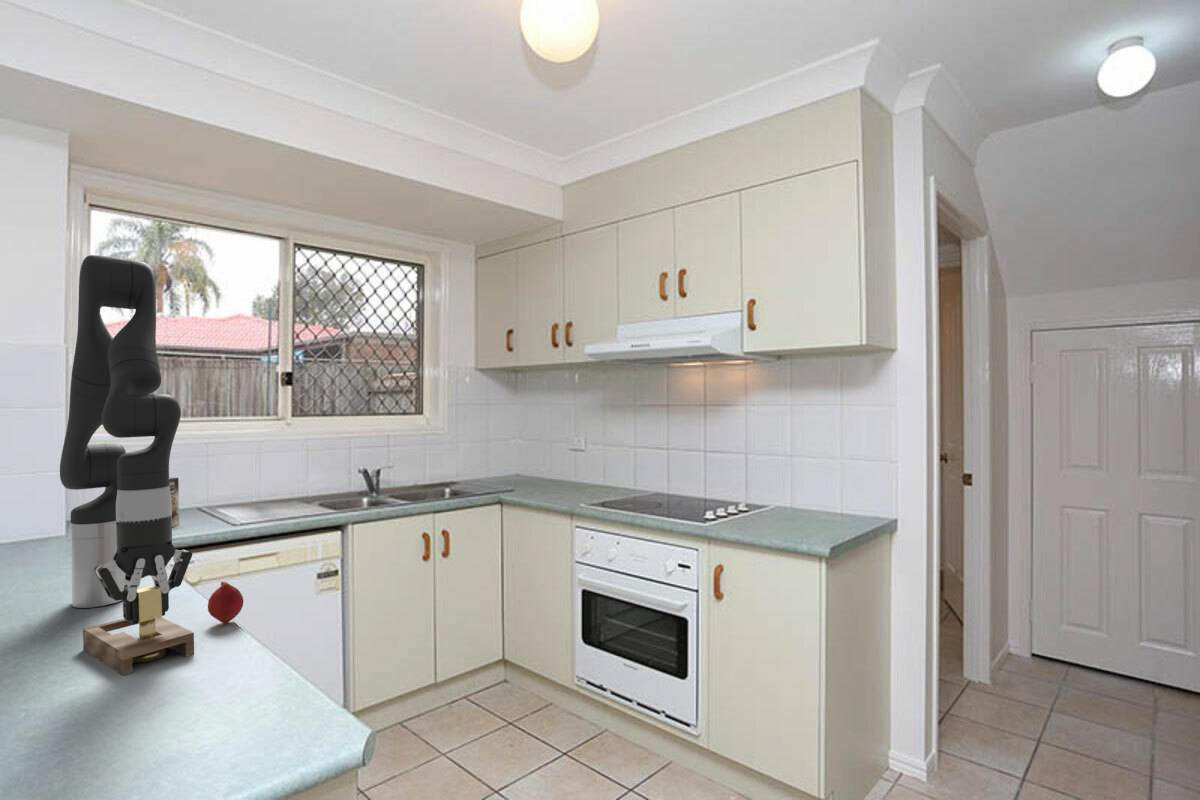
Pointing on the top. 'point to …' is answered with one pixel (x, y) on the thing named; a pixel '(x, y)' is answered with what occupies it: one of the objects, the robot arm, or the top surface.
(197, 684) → the top surface
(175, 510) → the coffee box
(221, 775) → the top surface
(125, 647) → the keyhole plate
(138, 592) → the keyhole peg
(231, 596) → the onion
